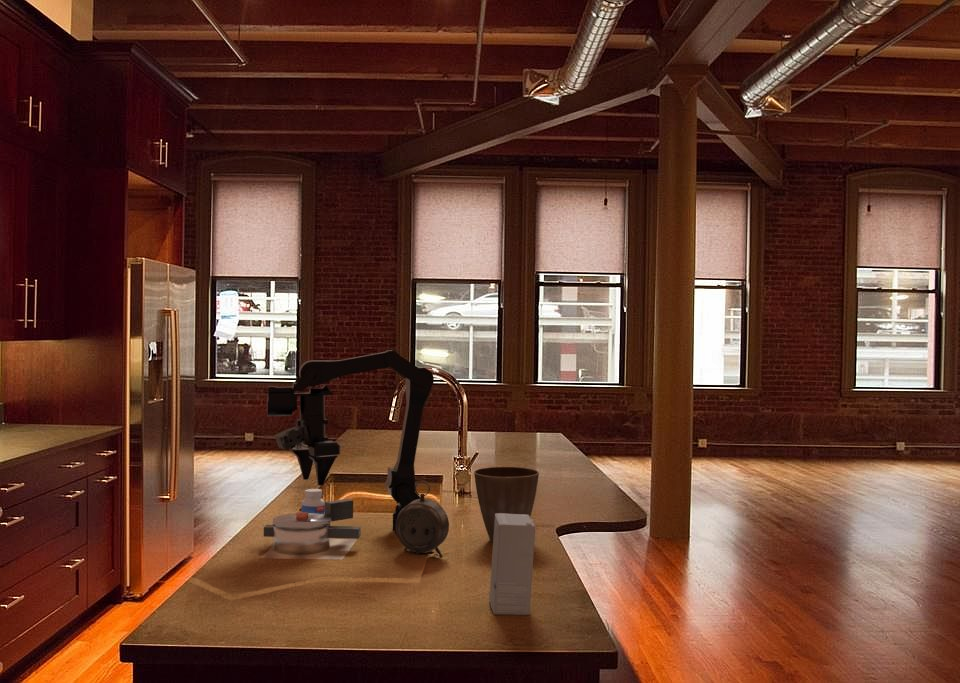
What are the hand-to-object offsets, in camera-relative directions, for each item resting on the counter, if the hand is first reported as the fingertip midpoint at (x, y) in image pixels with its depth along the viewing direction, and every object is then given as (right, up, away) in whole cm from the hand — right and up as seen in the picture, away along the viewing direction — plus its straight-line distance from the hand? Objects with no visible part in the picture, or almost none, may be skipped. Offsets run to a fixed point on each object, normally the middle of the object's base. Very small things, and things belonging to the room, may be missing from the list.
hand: (313, 482), depth 205 cm
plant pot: (+44, -14, -1) cm, 47 cm away
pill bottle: (-1, -13, +6) cm, 14 cm away
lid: (+3, -7, -12) cm, 14 cm away
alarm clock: (+26, -13, -16) cm, 34 cm away
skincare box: (+44, -14, -51) cm, 69 cm away
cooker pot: (+2, -12, -14) cm, 18 cm away
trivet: (+2, -13, -14) cm, 19 cm away
